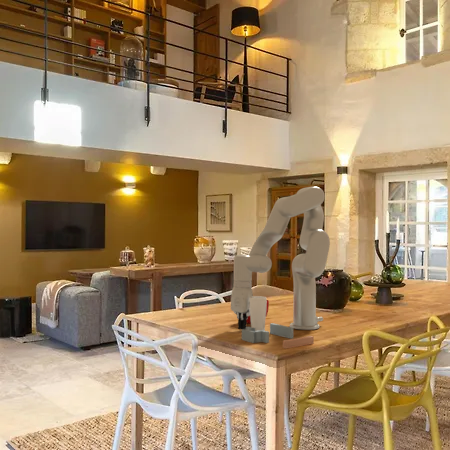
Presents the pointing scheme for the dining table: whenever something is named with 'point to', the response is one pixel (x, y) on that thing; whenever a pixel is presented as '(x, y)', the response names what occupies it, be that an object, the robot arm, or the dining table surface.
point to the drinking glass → (258, 312)
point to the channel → (276, 329)
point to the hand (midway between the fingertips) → (242, 328)
